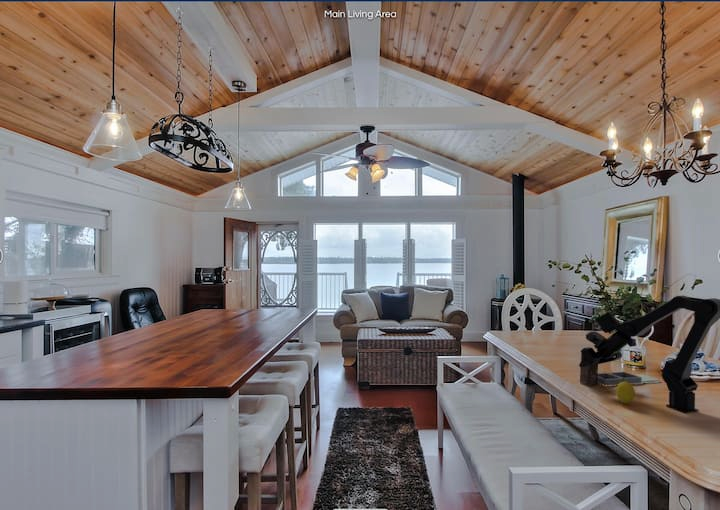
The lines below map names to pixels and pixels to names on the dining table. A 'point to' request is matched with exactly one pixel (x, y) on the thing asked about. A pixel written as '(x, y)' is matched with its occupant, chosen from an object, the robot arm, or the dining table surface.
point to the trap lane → (624, 378)
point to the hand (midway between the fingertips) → (587, 365)
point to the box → (589, 374)
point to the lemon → (625, 392)
